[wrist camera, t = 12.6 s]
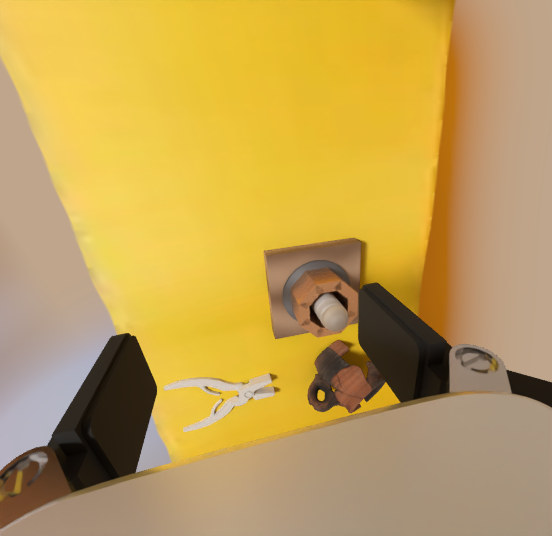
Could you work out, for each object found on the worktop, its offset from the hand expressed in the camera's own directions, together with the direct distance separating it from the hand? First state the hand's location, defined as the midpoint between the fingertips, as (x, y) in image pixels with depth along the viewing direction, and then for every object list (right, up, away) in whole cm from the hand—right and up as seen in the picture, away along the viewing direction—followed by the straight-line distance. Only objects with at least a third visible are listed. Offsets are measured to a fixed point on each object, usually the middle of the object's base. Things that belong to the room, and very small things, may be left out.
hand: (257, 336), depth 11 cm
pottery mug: (+10, -13, +32) cm, 36 cm away
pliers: (-7, -16, +30) cm, 35 cm away
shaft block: (+6, 0, +25) cm, 26 cm away
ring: (+6, 0, +23) cm, 24 cm away
